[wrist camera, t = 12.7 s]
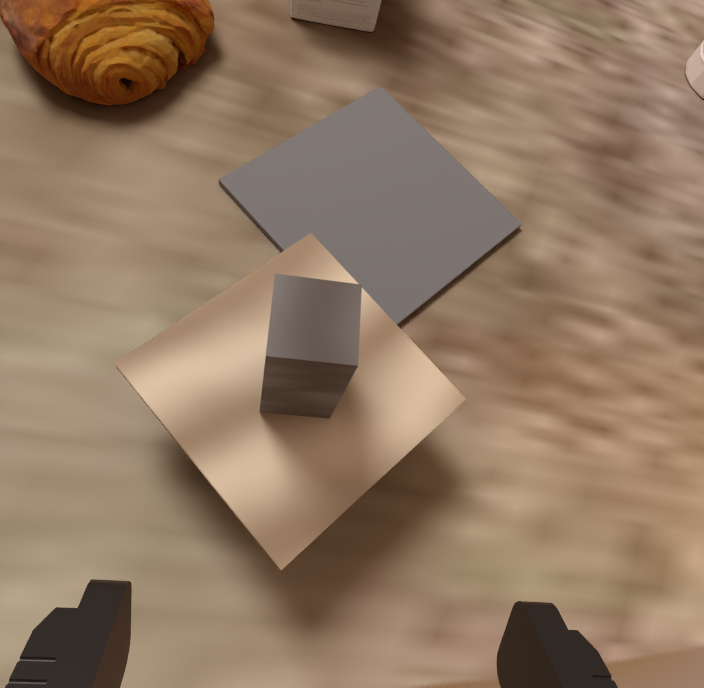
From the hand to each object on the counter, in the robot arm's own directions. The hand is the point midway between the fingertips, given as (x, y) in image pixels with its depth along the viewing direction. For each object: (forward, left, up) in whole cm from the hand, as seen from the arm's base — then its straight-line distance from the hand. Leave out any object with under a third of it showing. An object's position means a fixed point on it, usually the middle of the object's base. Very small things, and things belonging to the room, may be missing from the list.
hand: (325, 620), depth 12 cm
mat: (-16, +22, -22) cm, 35 cm away
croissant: (-39, +17, -23) cm, 48 cm away
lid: (-7, +7, -17) cm, 20 cm away
